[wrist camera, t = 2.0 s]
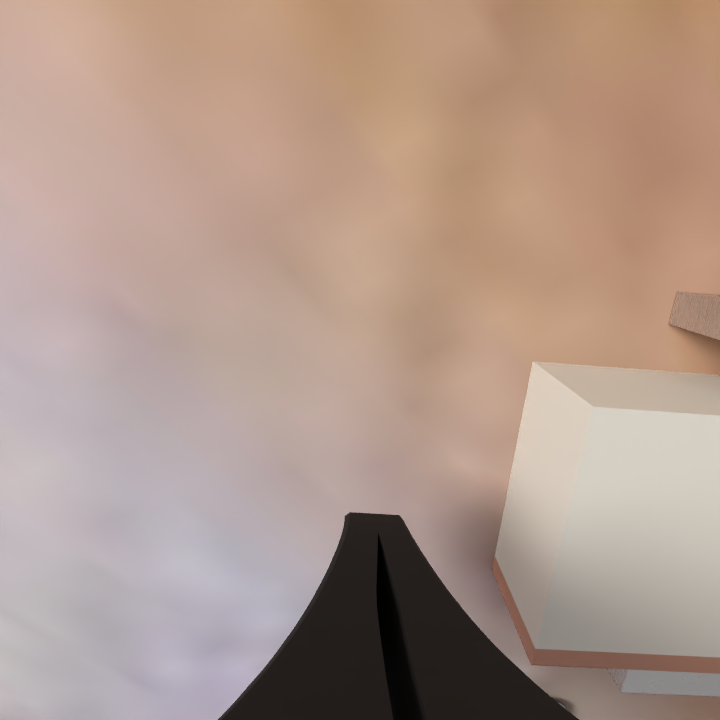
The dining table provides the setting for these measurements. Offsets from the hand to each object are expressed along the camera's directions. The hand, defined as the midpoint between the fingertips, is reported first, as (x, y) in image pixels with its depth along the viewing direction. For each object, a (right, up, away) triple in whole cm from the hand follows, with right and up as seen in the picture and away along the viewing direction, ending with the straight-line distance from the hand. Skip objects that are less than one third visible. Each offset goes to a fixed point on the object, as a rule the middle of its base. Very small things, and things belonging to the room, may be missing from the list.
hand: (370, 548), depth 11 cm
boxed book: (+11, 0, +5) cm, 12 cm away
